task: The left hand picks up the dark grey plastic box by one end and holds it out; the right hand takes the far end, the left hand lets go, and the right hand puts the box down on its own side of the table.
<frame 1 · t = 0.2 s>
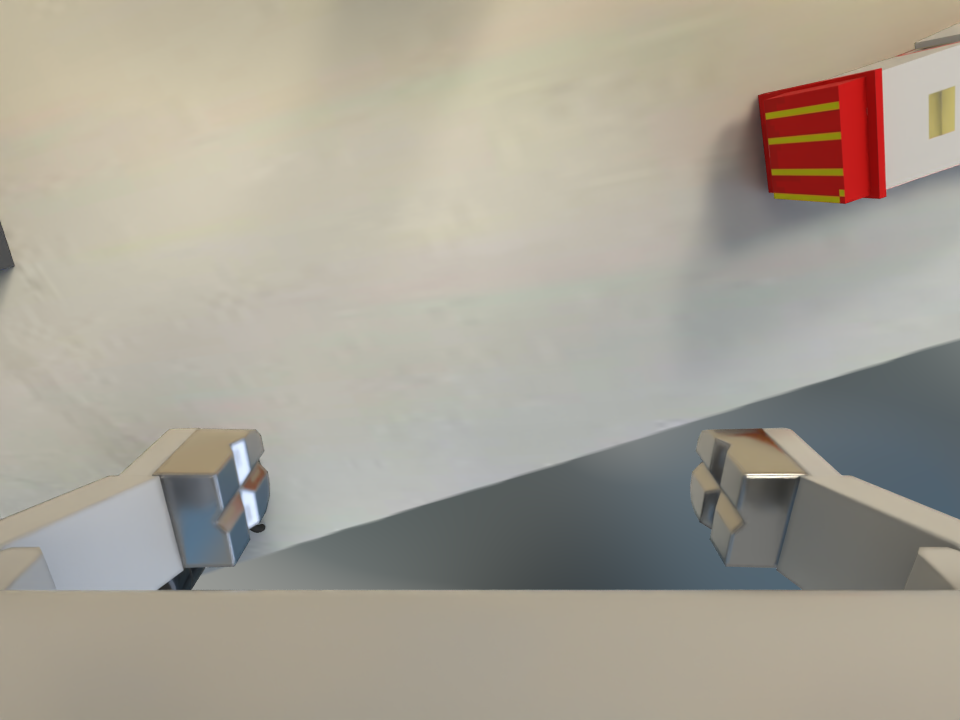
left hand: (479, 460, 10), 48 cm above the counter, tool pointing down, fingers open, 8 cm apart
toy: (908, 97, 51), on the counter
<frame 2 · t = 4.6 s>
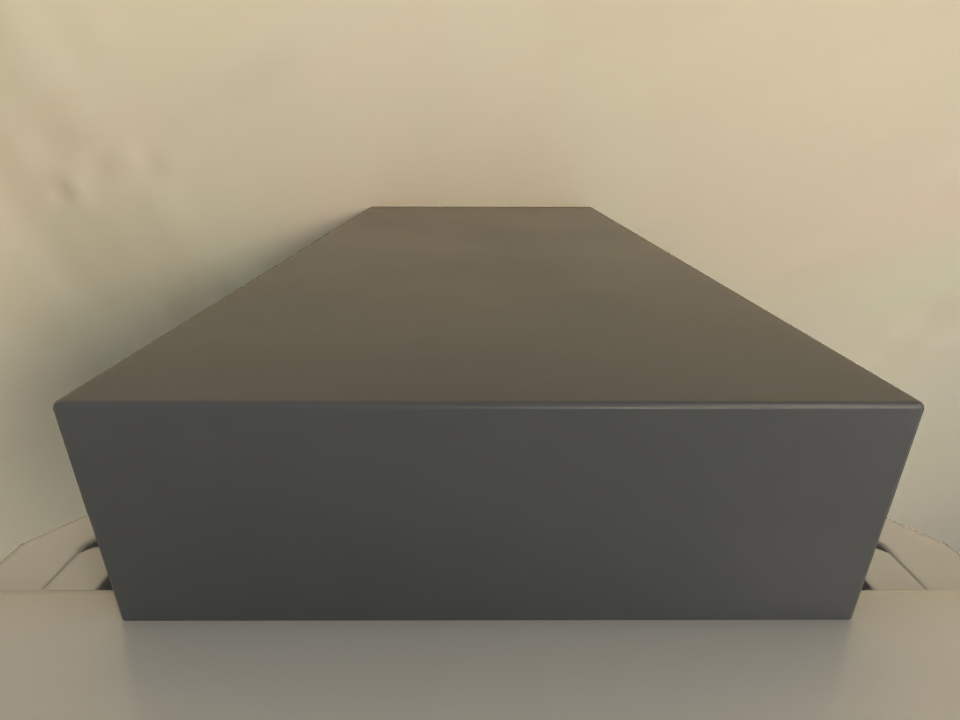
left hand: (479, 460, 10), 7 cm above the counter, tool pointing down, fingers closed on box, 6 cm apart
box: (480, 579, 20), on the counter, touching left hand
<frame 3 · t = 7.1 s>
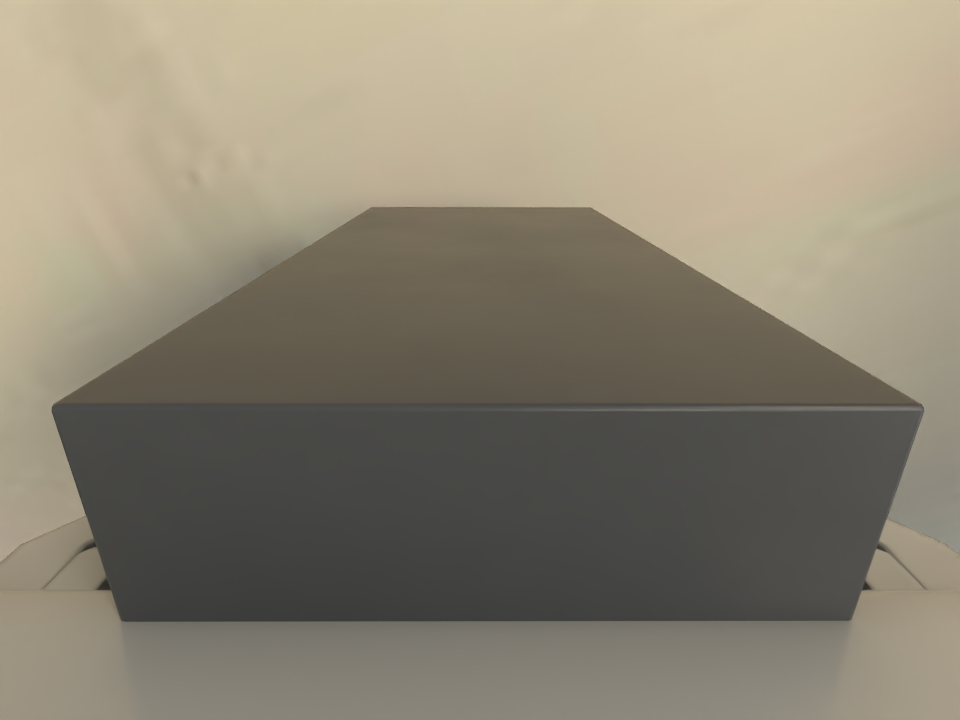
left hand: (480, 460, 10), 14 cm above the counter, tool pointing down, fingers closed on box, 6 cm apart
box: (480, 580, 20), point 7 cm above the counter, touching left hand
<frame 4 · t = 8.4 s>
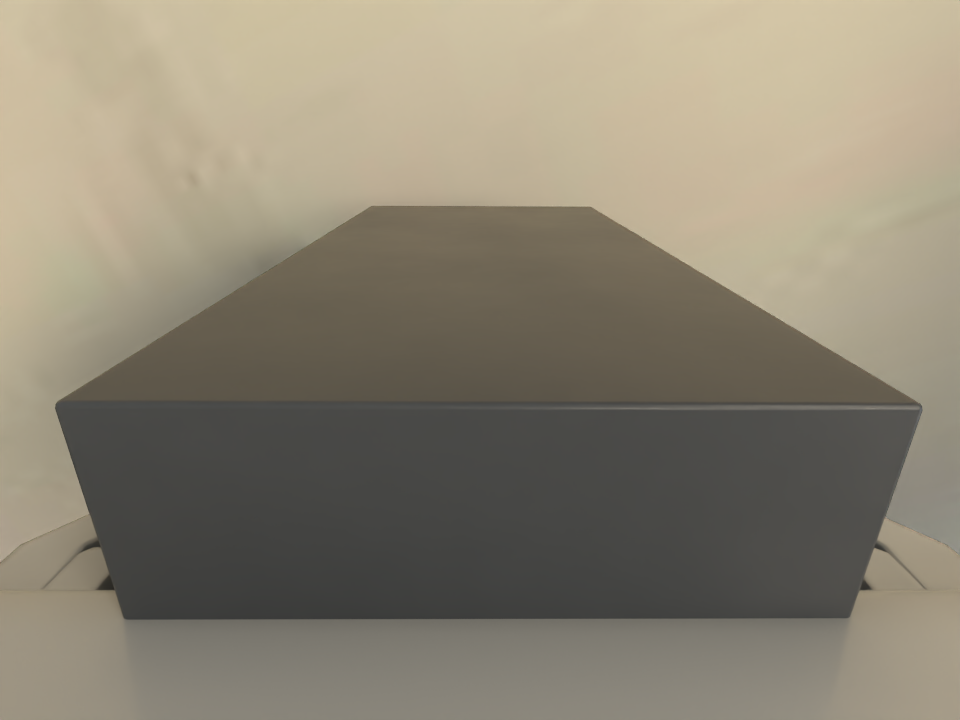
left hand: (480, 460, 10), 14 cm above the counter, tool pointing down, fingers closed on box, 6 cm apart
box: (479, 578, 20), point 7 cm above the counter, touching left hand, right hand
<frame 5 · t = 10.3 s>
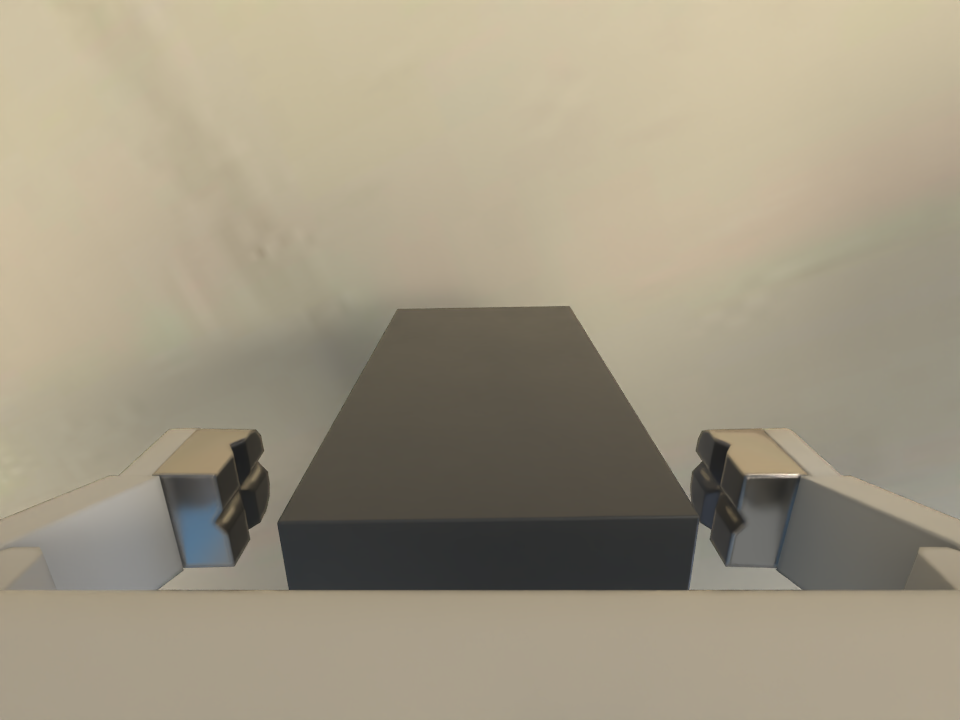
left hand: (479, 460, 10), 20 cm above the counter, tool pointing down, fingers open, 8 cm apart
box: (488, 602, 24), point 10 cm above the counter, touching right hand
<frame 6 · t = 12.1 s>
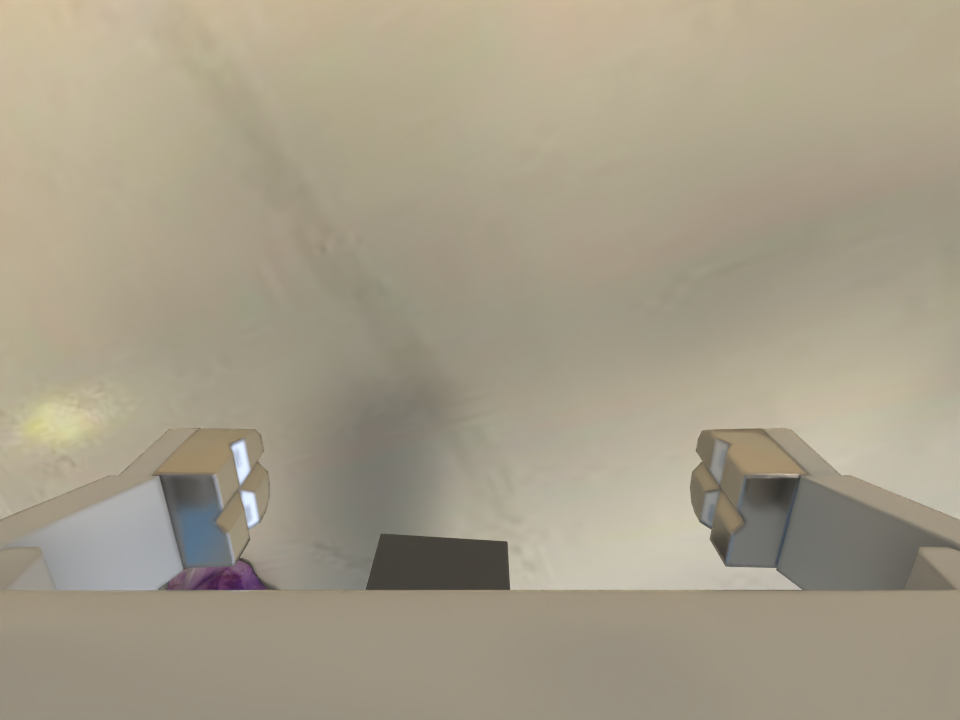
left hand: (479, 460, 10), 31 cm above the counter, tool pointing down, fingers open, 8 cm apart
figurine: (220, 590, 52), on the counter
when the right hand's fingers open (9 cm above the counter, at t = 16.2 s): box stays where it is, on the counter.
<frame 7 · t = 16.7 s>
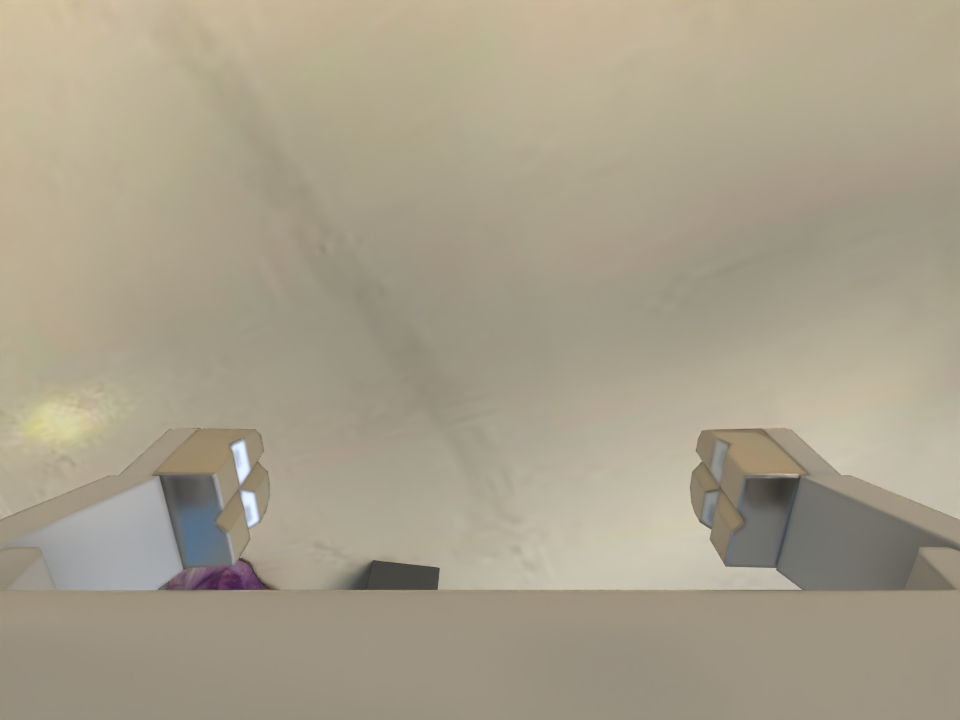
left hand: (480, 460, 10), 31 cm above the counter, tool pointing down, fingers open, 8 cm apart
box: (394, 666, 55), on the counter
figurine: (220, 590, 52), on the counter
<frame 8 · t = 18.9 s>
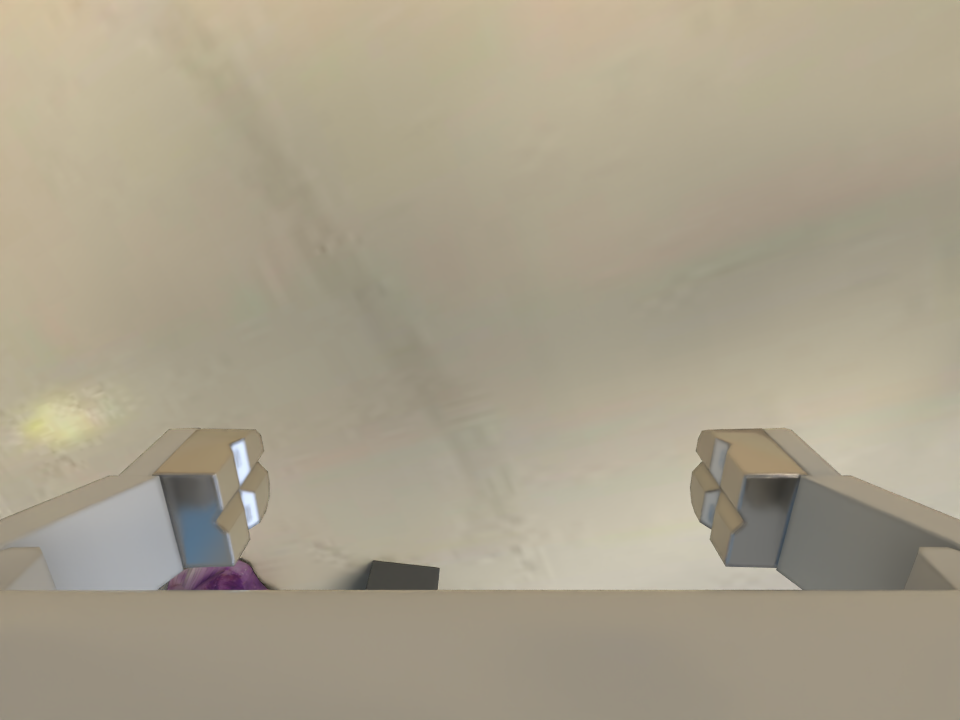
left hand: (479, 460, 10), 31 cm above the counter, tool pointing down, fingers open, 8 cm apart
box: (394, 666, 55), on the counter
figurine: (220, 590, 52), on the counter
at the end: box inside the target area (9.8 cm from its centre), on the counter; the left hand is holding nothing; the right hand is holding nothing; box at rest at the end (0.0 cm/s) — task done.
